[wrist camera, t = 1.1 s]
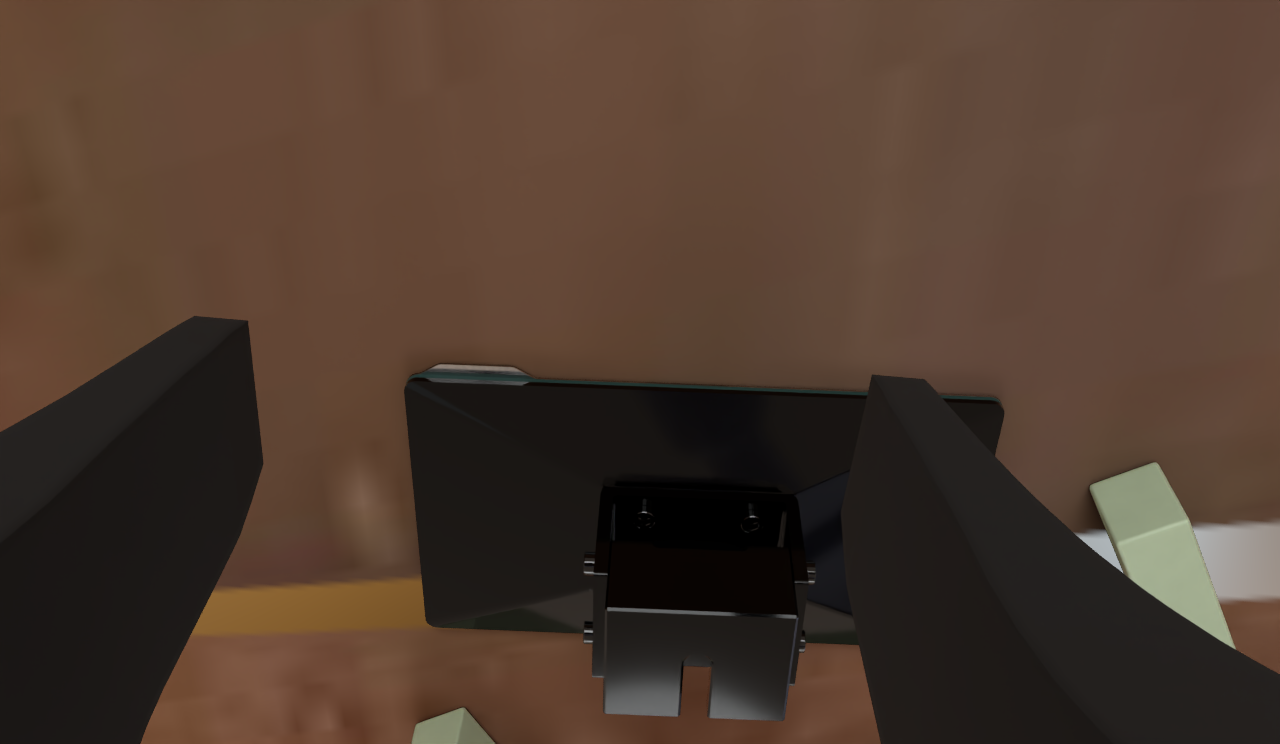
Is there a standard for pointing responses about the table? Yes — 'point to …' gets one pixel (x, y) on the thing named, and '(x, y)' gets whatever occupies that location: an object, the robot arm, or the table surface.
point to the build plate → (644, 523)
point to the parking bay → (1141, 537)
